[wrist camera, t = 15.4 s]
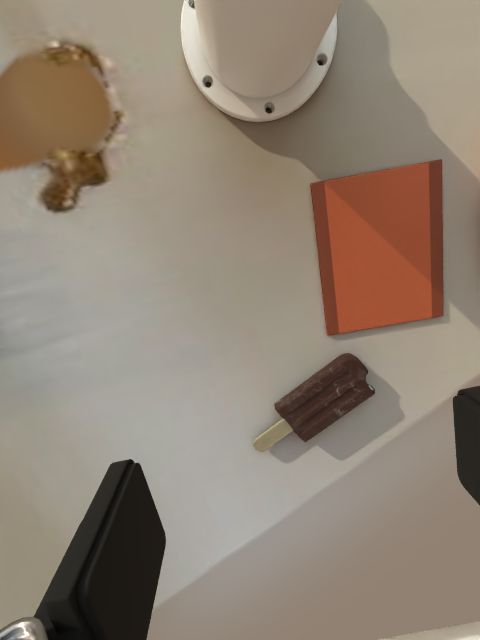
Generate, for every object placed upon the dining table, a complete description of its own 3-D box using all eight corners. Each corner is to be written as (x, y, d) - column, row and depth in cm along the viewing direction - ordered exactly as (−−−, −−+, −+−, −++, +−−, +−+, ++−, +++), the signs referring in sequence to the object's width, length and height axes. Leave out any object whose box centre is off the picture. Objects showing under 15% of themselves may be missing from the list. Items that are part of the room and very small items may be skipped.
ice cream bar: (269, 458, 41) (376, 382, 38) (270, 467, 39) (382, 389, 37) (240, 428, 40) (349, 347, 37) (240, 436, 38) (354, 353, 36)
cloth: (310, 183, 33) (311, 183, 32) (440, 160, 32) (442, 159, 32) (327, 334, 37) (327, 335, 37) (441, 315, 36) (443, 315, 36)
